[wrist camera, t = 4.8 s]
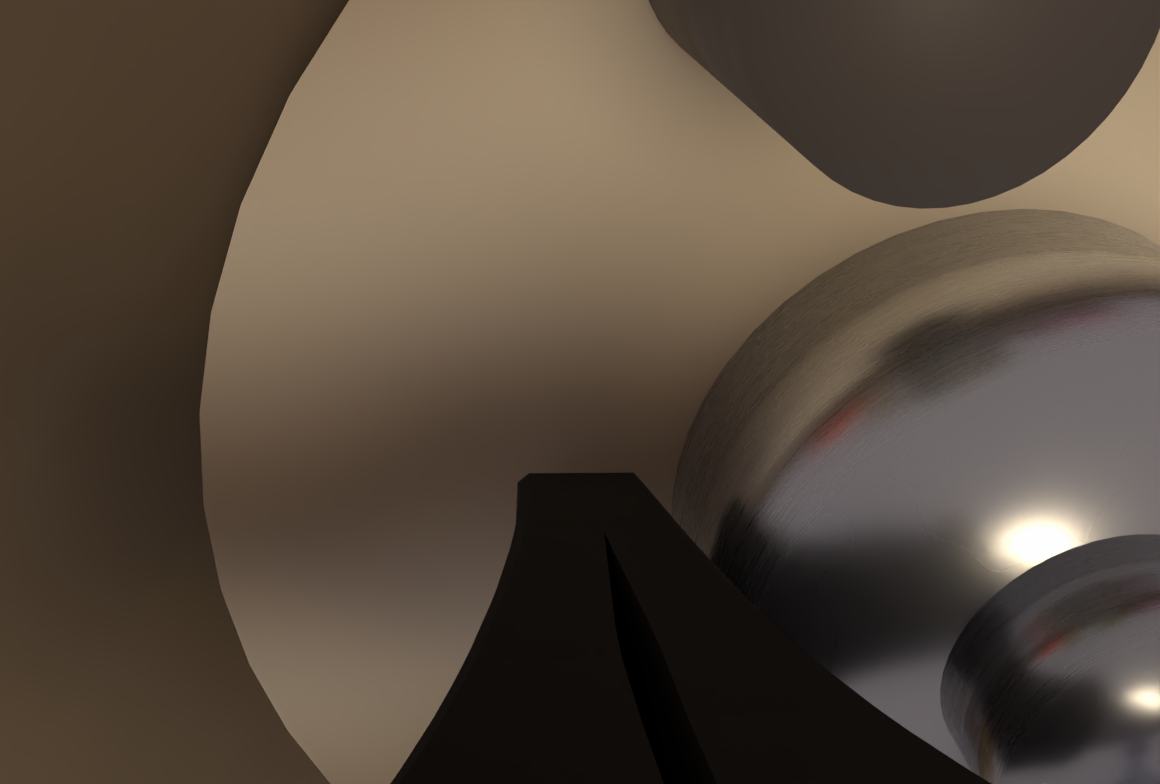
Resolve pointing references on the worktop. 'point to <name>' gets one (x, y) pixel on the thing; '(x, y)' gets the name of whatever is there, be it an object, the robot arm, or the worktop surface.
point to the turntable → (578, 276)
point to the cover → (958, 488)
